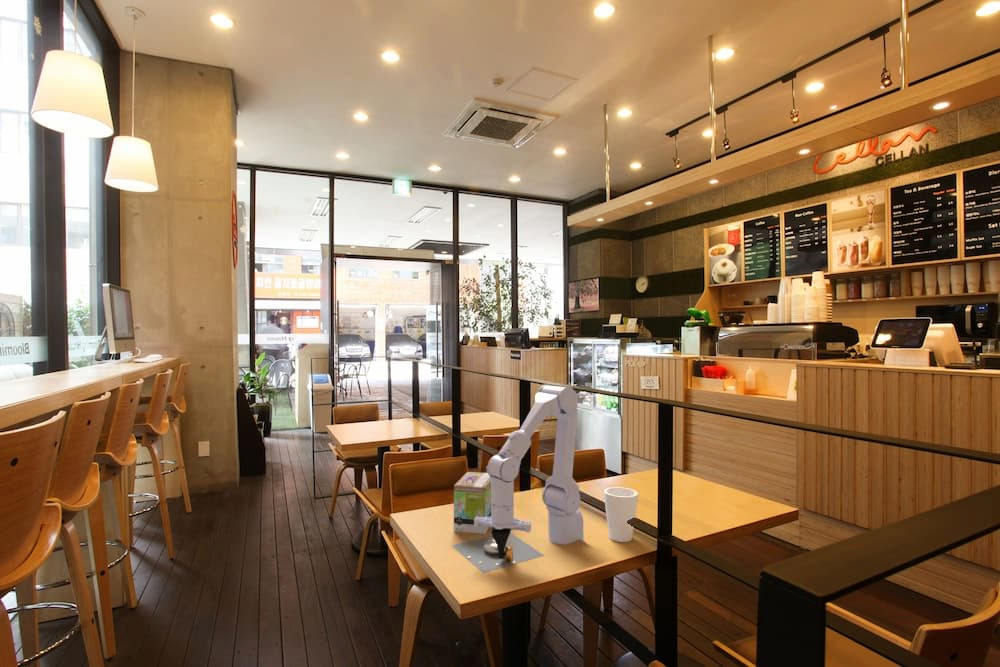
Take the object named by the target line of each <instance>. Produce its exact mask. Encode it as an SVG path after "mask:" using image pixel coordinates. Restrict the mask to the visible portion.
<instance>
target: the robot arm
mask: <svg viewBox="0 0 1000 667" xmlns="http://www.w3.org/2000/svg"><path fill="white" fill-rule="evenodd" d="M534 398H535V399H534V400H535V401H534V404H533V405H532V408H531V409H530V411H529V412H528V414H527V416H526V418H525V420H524V421H523V423H522V425H521V426H520V429H519V430H514V431H512V432H511V433H510V434H509V435H508V438H507V440H506V441H505V443H504V444H503V446H502V447H501V449H500V450H499V452H498V454H495V455H493V456H492V457H490V459H489V460H488V462H487V466H486V467H485V468H486V473H488V474H489V476H490V482H491V517H476V518H475V519H474V527H478V526H483V527H489V528H491V529H492V530H491V536H493V538H494V540H495V542H496V544H497V547H498V551H499V558H502V559H503V557H504V555H505V546H506V542H507V539H508V537H509V535H510V533H511V532H512V531H521V532H525V533H527V534H529V533H531V531H532V522H530V521H525V520H521V519H518V518H514V517H515V516H514V515H515V514H514V513H515V511H514V506H515V505H514V504H515V500H514V497H515V496H514V495H515V494H514V493H515V492H514V489H515V487H514V486H515V485H514V484H515V479H516V477H518V475H519V472H520V466H521V463H522V462H521V461H522V459H523V458H524V457H525V455H526V453H527V452H528V450H529V448H530V447H531V445H532V440H531V439H532V438H531V437H532V436H533V434H534V433H535V432H536V431H537V430H538V428H539V427H540V425H541V424H542V423H543V421H544V420H545V418H547V416H550V415H554V417H555V418H556V420H557V421H556V432H555V433H556V434H555V443H554V454H553V455H554V456H553V464H552V465H553V466H552V467H553V468H552V475H551V476H549V477H548V478H547V479H545V486H544V488H543V491H542V493H541V494H542V496H541V499H542V502H543V504H544V505H545V507H546V510H547V513H548V514H547V515H548V516H547V519H548V522H547V523H548V524H547V525H548V534H547V535H548V540H549V542H551V543H553V544H556V545H569V544H572V543H574V542H576V541H579V540H580V541H581V542H583V543H586V540H585V538H584V537H585V536H584V533H585V532H584V517H583V514H582V511H580V509H579V508H580V505H581V496H580V486H579V484H578V482H576V480H575V479H574V478H573V474H574V473H573V469H574V458H575V448H576V435H577V424H578V403H579V402H578V401H579V395H578V393H576V391H575V389H573V388H572V387H571V386H558V385H550V384H547V383H546V384H543V385H542V386H540V387H539V389H538V391H537V393H535V395H534Z"/></svg>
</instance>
